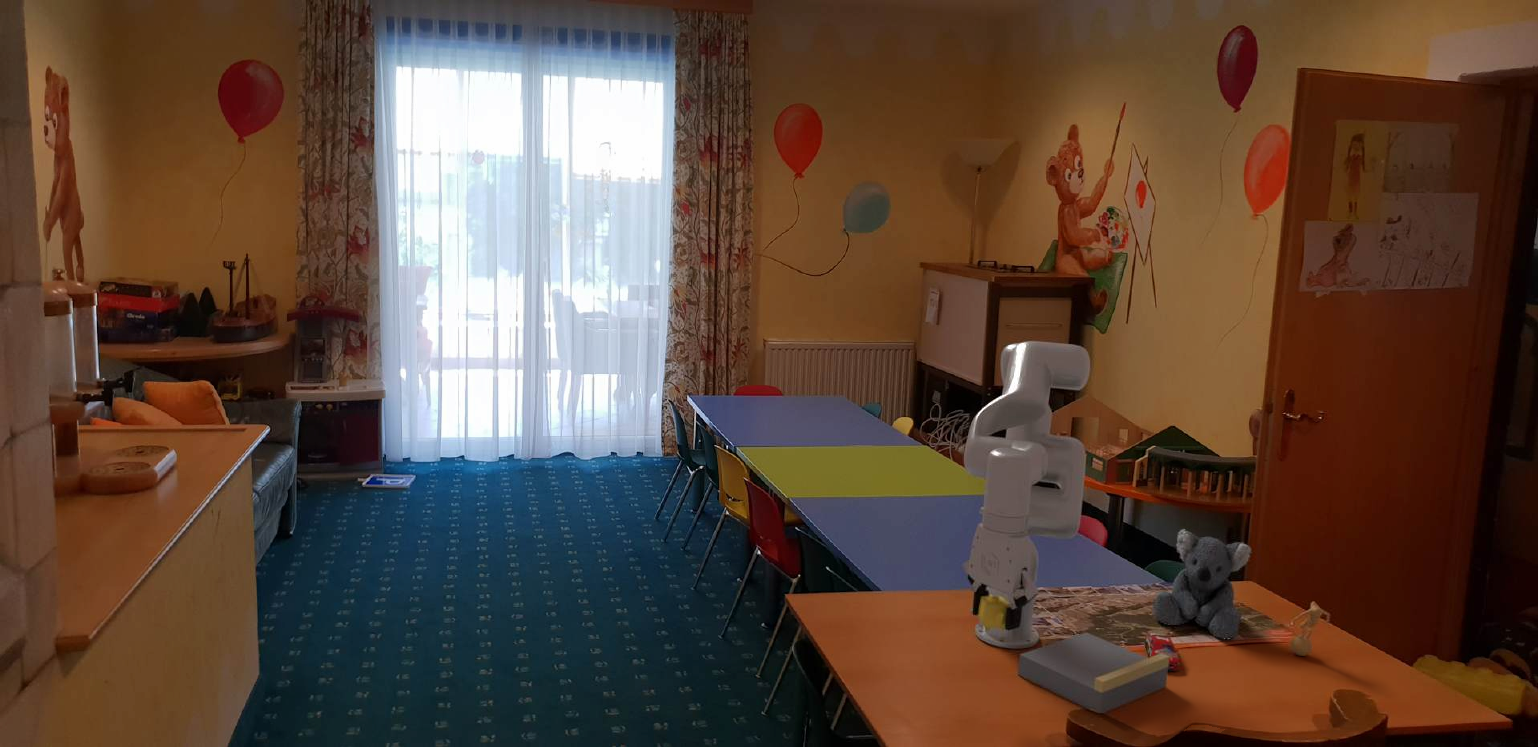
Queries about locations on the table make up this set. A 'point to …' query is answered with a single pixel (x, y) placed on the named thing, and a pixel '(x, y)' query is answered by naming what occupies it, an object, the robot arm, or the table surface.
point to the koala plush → (1204, 585)
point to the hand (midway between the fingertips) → (995, 619)
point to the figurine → (1302, 642)
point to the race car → (1162, 649)
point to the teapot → (993, 612)
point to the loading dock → (1094, 671)
